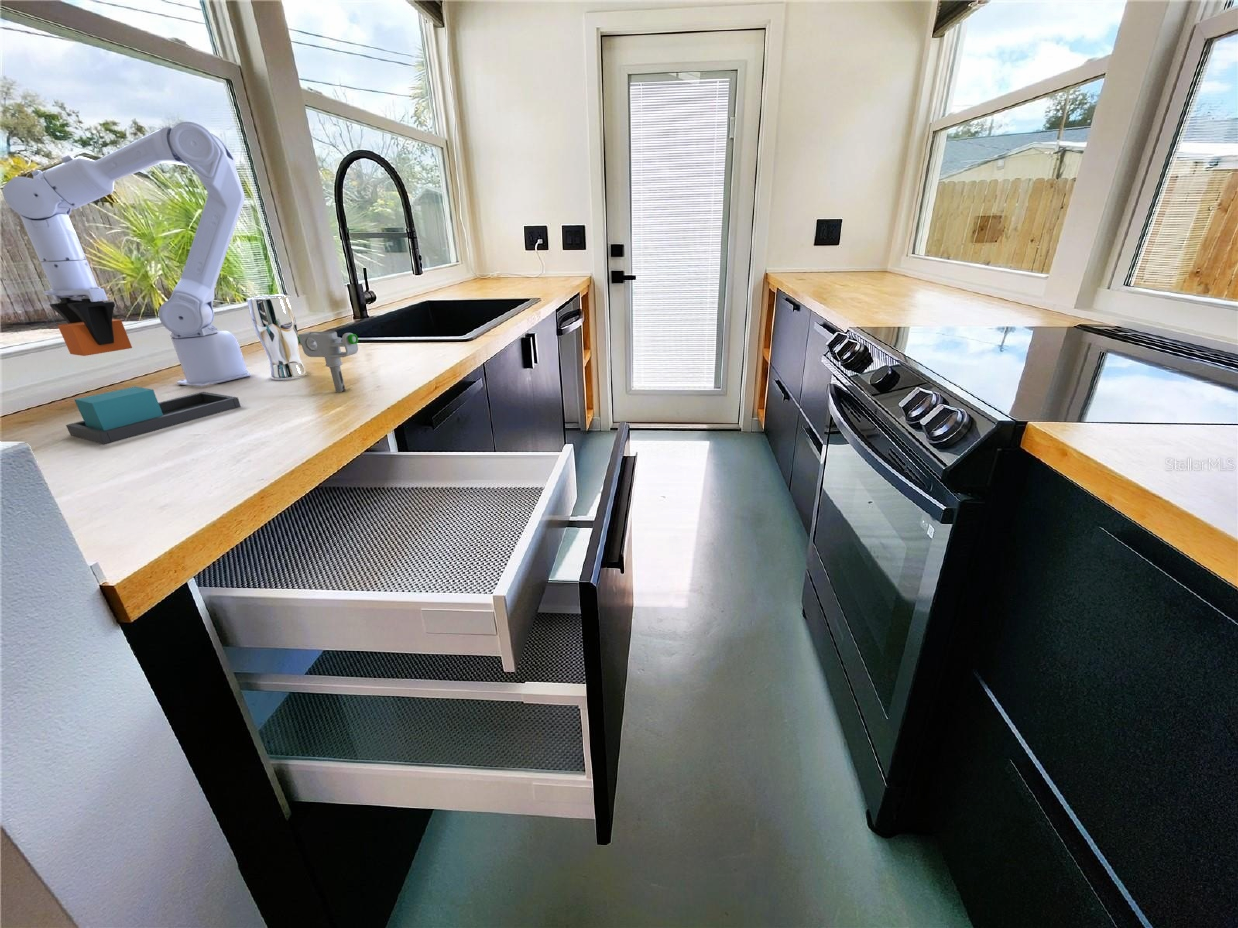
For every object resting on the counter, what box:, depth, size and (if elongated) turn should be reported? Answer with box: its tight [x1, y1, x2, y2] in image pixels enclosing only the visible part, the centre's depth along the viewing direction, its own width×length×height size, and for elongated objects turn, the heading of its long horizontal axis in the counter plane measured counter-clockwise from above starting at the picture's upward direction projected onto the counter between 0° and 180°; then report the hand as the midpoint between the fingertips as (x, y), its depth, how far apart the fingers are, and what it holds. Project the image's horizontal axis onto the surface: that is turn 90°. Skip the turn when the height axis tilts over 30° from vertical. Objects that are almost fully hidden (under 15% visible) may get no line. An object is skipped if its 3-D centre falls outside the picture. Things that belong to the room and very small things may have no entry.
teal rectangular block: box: [74, 386, 163, 431], centre depth 75 cm, size 7×5×5 cm
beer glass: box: [246, 294, 308, 381], centre depth 101 cm, size 7×7×15 cm
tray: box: [65, 391, 241, 446], centre depth 79 cm, size 18×10×2 cm, turn 153°
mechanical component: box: [298, 331, 359, 394], centre depth 91 cm, size 3×10×10 cm, turn 78°
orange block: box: [57, 318, 133, 357], centre depth 94 cm, size 7×5×5 cm
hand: (98, 343), depth 94 cm, fingers closed on orange block, 5 cm apart
